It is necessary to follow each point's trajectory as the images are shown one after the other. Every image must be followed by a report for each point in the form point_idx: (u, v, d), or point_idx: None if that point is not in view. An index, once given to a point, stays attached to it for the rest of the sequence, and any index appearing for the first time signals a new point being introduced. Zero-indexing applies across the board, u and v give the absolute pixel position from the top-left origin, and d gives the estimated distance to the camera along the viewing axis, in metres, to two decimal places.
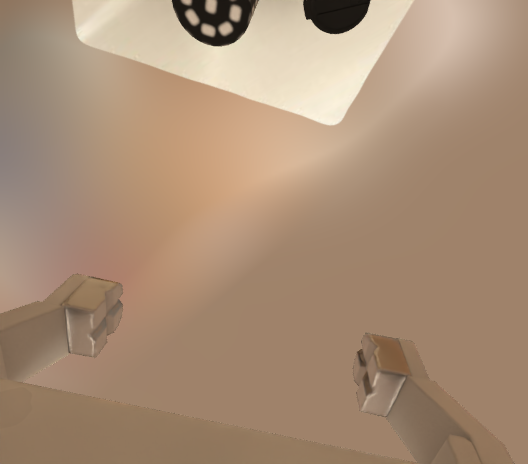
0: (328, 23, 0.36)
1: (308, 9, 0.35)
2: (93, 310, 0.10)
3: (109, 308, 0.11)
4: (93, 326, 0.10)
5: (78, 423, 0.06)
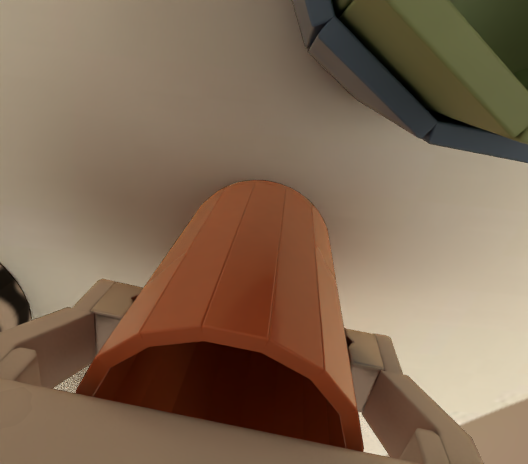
0: None
1: None
2: (122, 316, 0.10)
3: None
4: None
5: (78, 423, 0.06)
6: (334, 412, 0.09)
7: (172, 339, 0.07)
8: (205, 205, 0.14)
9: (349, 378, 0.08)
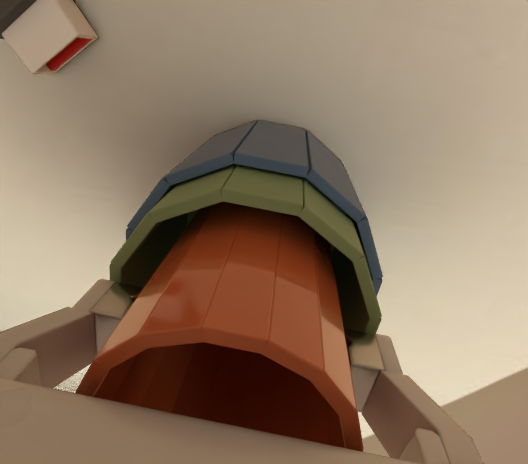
0: None
1: None
2: (122, 316, 0.10)
3: None
4: None
5: (78, 422, 0.06)
6: (334, 413, 0.09)
7: (172, 340, 0.07)
8: None
9: (349, 379, 0.08)
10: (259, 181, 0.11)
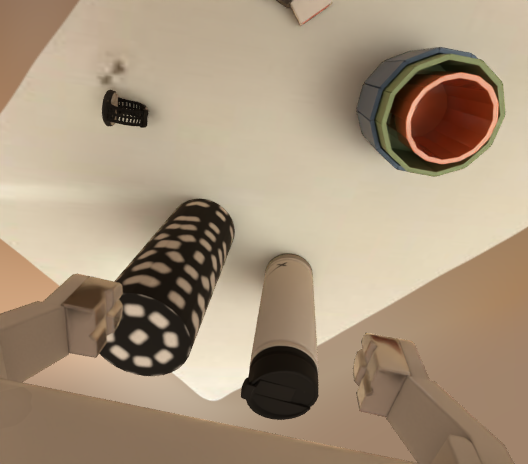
0: (261, 404, 0.31)
1: (248, 392, 0.29)
2: (92, 310, 0.10)
3: (109, 308, 0.11)
4: (93, 326, 0.10)
5: (78, 423, 0.06)
6: (481, 124, 0.27)
7: (451, 77, 0.25)
8: None
9: None
10: None
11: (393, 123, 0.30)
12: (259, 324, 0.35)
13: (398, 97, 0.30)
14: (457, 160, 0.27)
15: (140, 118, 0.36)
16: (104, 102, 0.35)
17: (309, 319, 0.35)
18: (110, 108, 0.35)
